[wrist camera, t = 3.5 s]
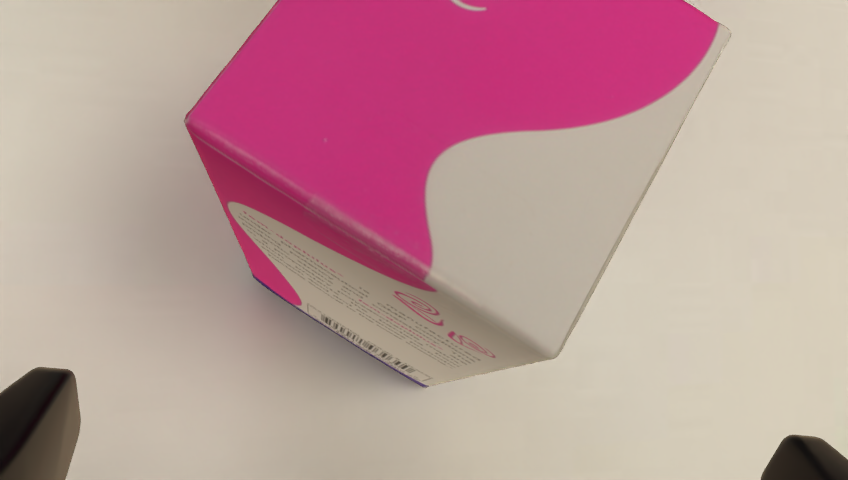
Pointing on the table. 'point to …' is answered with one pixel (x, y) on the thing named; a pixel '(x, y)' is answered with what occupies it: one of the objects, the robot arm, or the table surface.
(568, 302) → the supplement box
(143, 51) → the table surface
